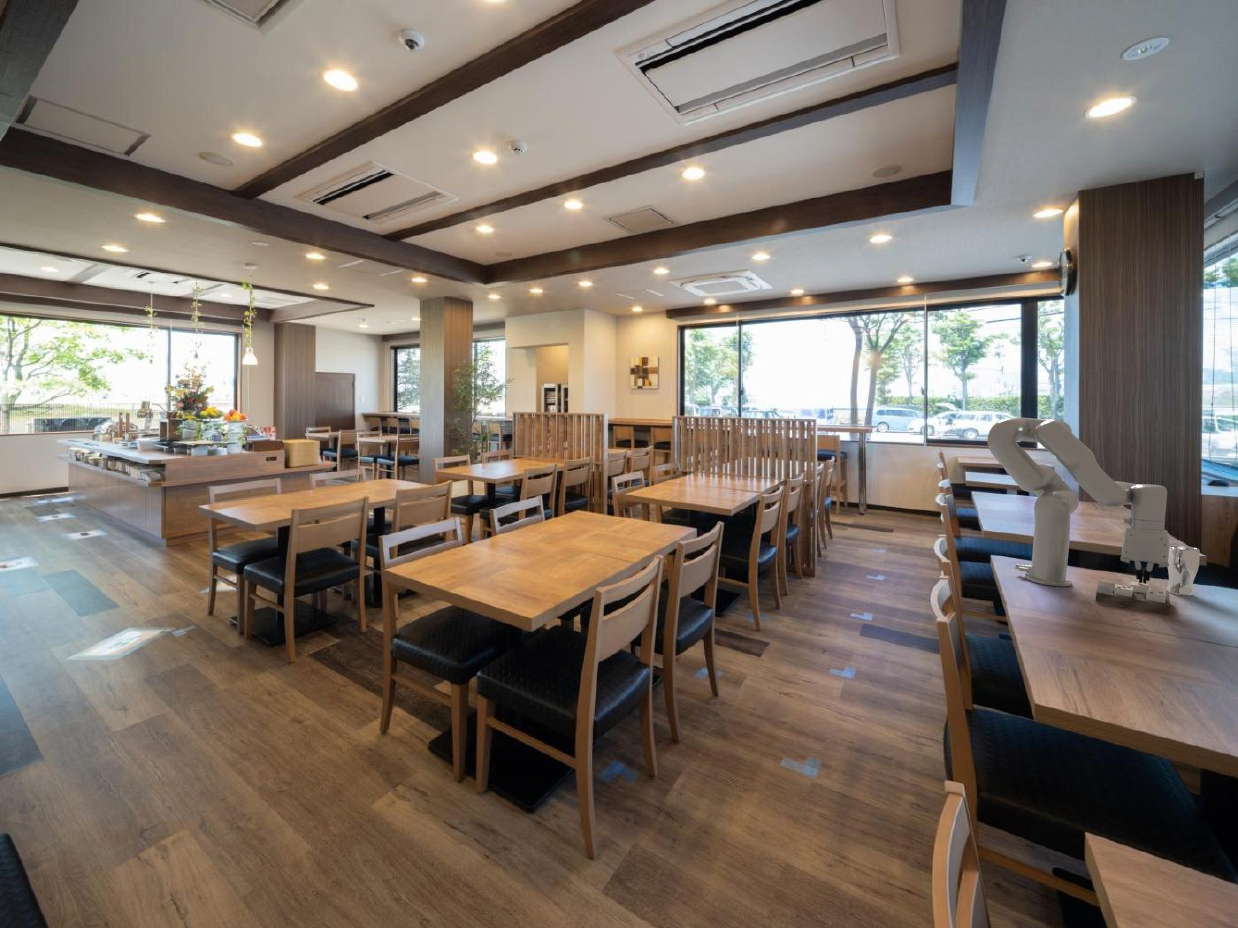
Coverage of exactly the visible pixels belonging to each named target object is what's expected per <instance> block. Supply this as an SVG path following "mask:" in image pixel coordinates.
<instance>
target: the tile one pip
mask: <svg viewBox="0 0 1238 928" xmlns="http://www.w3.org/2000/svg"><path fill="white" fill-rule="evenodd" d="M1130 587H1133V591H1134V592H1140V593H1146V592H1147V590H1150V585H1149V583H1146V584H1144V583H1143V582H1142V583H1139V581H1138V582H1137V581H1130Z"/></svg>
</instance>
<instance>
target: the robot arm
mask: <svg viewBox="0 0 1238 928" xmlns="http://www.w3.org/2000/svg"><path fill="white" fill-rule="evenodd" d="M1018 442H1027V443H1028V442H1029V443H1039V445H1041V446H1042V447H1043V448H1044V449H1045V450H1047V452H1049V454H1050V455H1052V456H1053V458H1055V459H1056V460H1057V461H1058V462H1059V463H1060V464H1061V465H1062V466H1063V467H1065V469H1066V470H1067V472H1068V474H1070V475H1071V477H1072V478H1073V479H1074V480H1075V482H1076V483H1077V484H1078V485H1079V487H1081V489H1083V490H1084V491H1085V492H1086V493H1087V494H1088V495H1089V496H1090V497H1091V498H1092V499H1093V500H1094V501H1095V502H1097V503H1098V504H1099V505H1102V506H1103V507H1105V508H1119V507H1121V506H1124V505H1131V507H1130V517H1129V518H1124V519H1123V524H1128V526H1126V528H1125V530H1124V535H1123V538H1122V539H1123V540H1122V546H1121V547H1122V548H1121V556H1120V561H1121V562H1124V563H1126V564H1130V565H1131V566H1132V567H1133V568H1135V570H1136V573H1135V575H1136V576H1135V580H1138V583H1144V584H1147V582H1150V580H1151V572H1152V571H1154V570H1155V569H1157V568H1168V566H1169V563H1168V558H1169V549H1170V539H1169V532H1168V530H1166V529H1165V523H1166V511H1167V496H1168V490H1167V488H1166V487H1165V486H1164V485H1159V484H1150V483H1148V484H1146V483H1145V484H1144V483H1142V484H1140V483H1139V484H1137V483H1132V482H1131V483H1130V482H1126V481H1118V480H1116V481H1115V480H1114V479H1113V478H1111V477H1110V476H1109V475H1108V474H1107V473H1106V472H1105V471H1104V470H1103V469H1102V467H1100V465H1099V464H1098V462H1097V460H1096V456H1095V454H1094V452H1093V451H1092V450H1091V449H1090V448H1089V447H1087V446H1086V444H1084V442H1082V441H1081V440H1080V439H1079V438H1078V437H1077V436H1075V434H1073V431H1072V428H1071V426H1070V425H1069V424H1068V423H1067V422H1066V421H1064V420H1060V419H1043V418H1042V419H1041V418H1030V417H1029V418H1027V417H1008V418H1003V419H1001V420H998V421H997V422H995V423H994V424H993V425H992V426H991V428H990V430H989V432H988V435H987V447H988V448H989V452H990V453H991V454H992V456H993V457H994V458H995V459H996V460H997V462H998V463H999V464H1000V466H1002V467H1003V469H1004V470H1005V471H1006V473H1007V474H1008V475H1009V476H1010V477H1011V479H1012V480H1013V481H1014V482H1015V484H1016V485H1017V486H1018V487H1019V488H1020V489H1021V490H1022V491H1025V492H1028V493H1034V494H1035V495H1036V496H1037V498H1036V501H1035V502H1034V507H1033V509H1034V510H1033V511H1034V513H1033V514H1034V526H1033V527H1034V529H1033V544H1032V545H1033V546H1032V556H1031V564H1027V565H1024V564H1020V563H1016V564H1015V570H1018V571H1019V572H1026V573H1025V574H1024V578H1025V579H1027V580H1028V581H1031V582H1033V583H1036V584H1040V585H1045V586H1052V587H1064V588H1065V587H1070V586H1072V584H1073V583H1072V579H1070V578H1068V577H1067V573H1068V572H1067V571H1068V570H1067V569H1068V559H1069V549H1070V535H1071V514H1073V513H1075V511H1077V509H1078V508H1079V504H1080V501H1079V497H1078V496H1077V494H1076V493H1075V492H1074V490H1073V489H1072V487H1070V486H1069V485H1068V484H1067V483H1066V482H1065V480H1064V479H1063V478H1062V477H1061V476H1060V475H1059V474H1058V472H1056V471H1055V470H1054V469H1053V468H1052V467H1051V466H1050V467H1049V466H1048V465H1046V464H1044V463H1037V462H1035V460H1033V459H1032V457H1031V456H1030V455H1029V453H1027V452H1026V451H1025V450H1024V449H1023V448H1022V447H1021V446H1020V445H1019V443H1018ZM1141 562H1144V563H1147V564H1146V567H1144V569H1143V566H1142V564H1141Z"/></svg>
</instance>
